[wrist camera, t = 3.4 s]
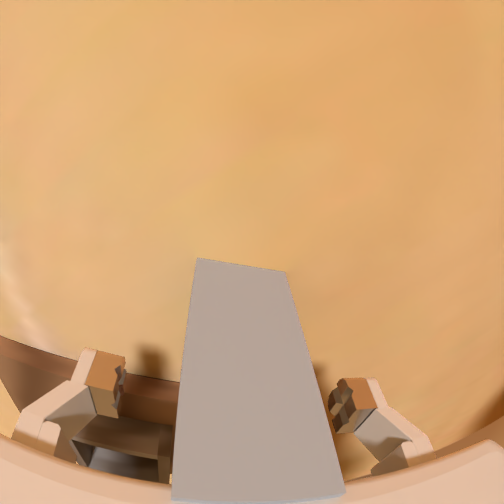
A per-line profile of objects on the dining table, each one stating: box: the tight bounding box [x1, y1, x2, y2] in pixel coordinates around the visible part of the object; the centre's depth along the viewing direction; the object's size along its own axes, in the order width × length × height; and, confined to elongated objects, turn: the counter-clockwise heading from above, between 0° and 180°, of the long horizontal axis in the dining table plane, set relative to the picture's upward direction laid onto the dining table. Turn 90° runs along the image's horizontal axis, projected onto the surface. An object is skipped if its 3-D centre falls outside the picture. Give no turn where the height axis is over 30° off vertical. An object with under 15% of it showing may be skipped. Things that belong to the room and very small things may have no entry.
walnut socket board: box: [0, 336, 180, 484], centre depth 18 cm, size 20×14×4 cm
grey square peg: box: [171, 258, 346, 504], centre depth 10 cm, size 4×4×10 cm
